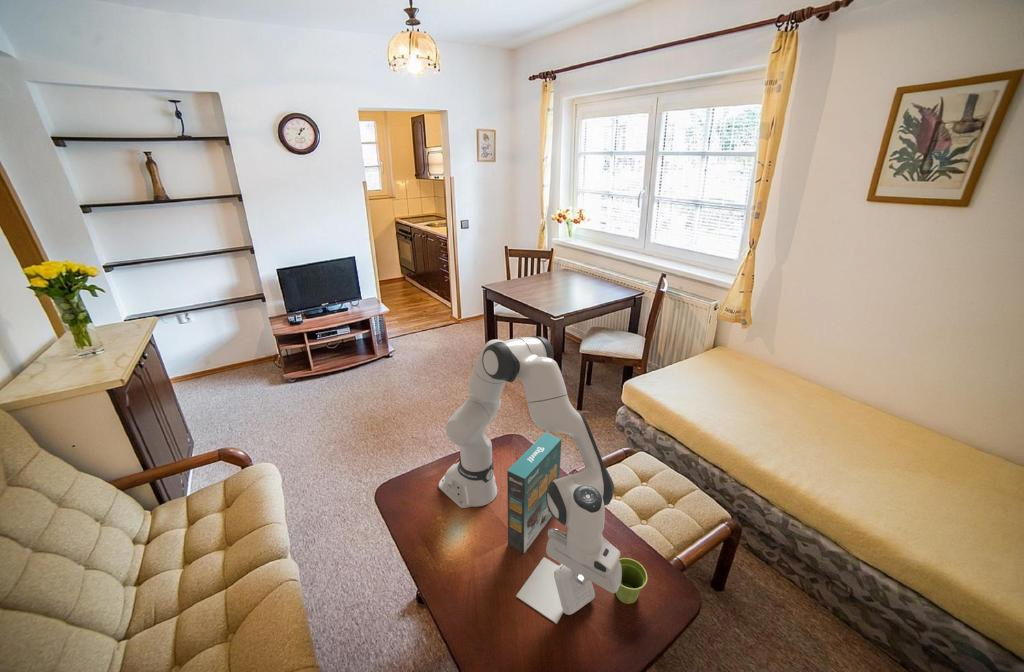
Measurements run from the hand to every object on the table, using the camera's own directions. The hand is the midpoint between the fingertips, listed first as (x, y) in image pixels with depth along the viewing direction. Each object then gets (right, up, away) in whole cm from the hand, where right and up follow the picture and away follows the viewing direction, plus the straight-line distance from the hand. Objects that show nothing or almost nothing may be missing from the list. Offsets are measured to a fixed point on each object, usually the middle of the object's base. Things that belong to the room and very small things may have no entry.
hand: (580, 581), depth 111 cm
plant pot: (+14, -8, +7) cm, 18 cm away
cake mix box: (-11, +2, +29) cm, 31 cm away
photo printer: (0, -8, +3) cm, 9 cm away
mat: (-8, -7, +9) cm, 13 cm away
